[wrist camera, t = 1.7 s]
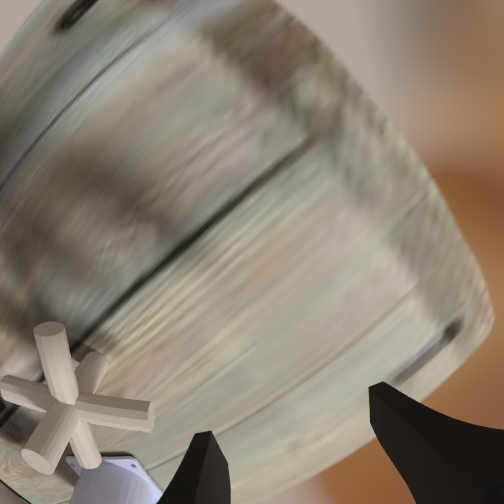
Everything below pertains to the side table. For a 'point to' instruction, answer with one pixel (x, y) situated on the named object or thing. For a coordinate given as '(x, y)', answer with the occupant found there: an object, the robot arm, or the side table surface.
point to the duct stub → (1, 406)
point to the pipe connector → (70, 403)
